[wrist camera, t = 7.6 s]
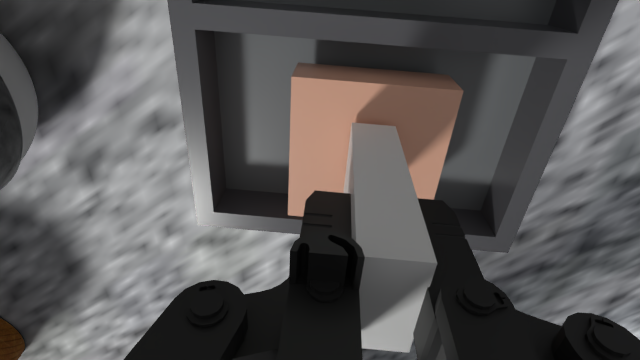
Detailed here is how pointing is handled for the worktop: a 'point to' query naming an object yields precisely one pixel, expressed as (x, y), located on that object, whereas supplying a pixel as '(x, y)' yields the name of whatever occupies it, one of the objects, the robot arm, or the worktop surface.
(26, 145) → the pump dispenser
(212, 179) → the grey compartment tray
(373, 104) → the key terracotta
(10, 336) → the disposable coffee cup
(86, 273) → the worktop surface
